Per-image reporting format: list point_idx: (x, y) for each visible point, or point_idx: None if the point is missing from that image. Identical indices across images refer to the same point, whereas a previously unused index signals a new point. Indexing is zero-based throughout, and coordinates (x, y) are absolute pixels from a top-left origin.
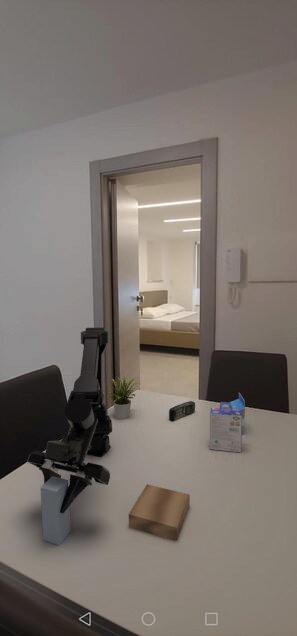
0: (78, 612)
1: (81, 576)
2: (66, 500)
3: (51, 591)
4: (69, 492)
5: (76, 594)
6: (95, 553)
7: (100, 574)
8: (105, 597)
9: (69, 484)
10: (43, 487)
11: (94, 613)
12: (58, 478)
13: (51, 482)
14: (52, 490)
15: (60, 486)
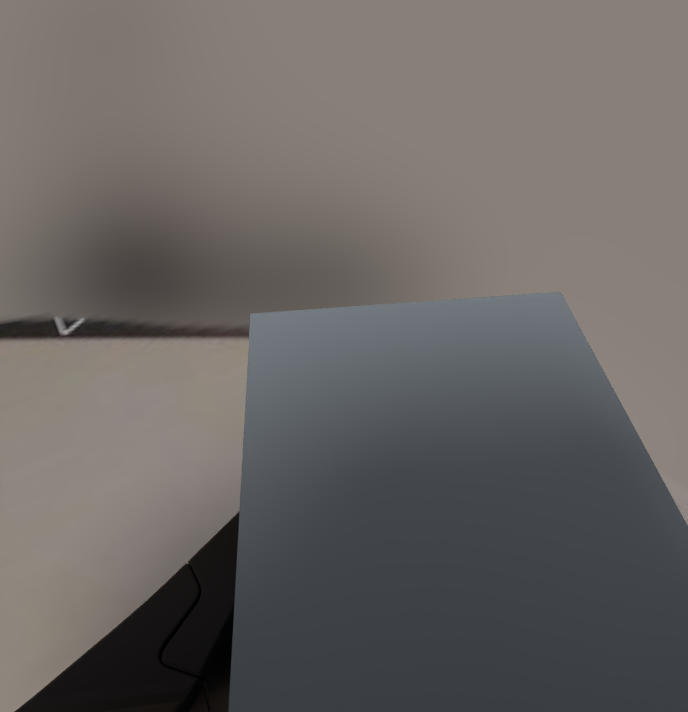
0: (102, 320)
1: (137, 413)
2: (234, 520)
3: (219, 332)
4: (189, 587)
5: (129, 356)
6: (111, 538)
7: (57, 452)
8: (18, 386)
9: (187, 700)
10: (519, 308)
11: (48, 335)
12: (545, 697)
13: (536, 465)
14: (332, 309)
15: (266, 438)
